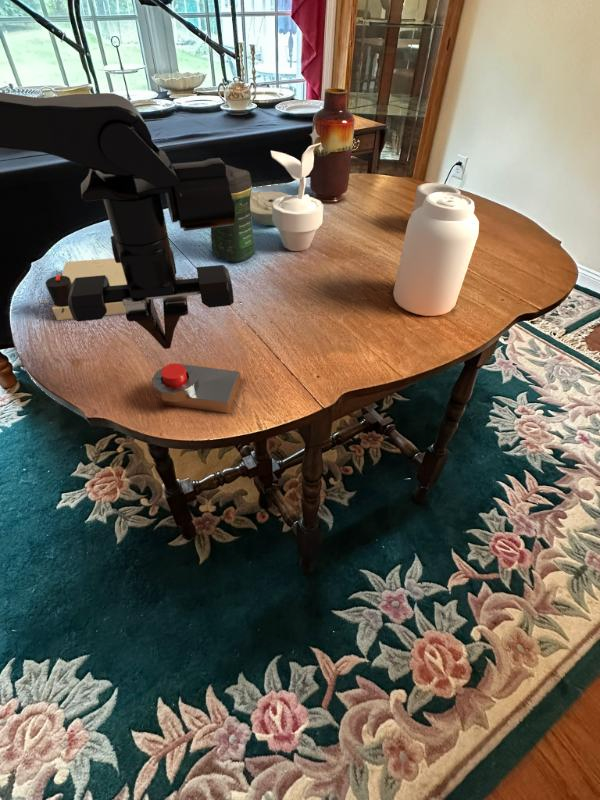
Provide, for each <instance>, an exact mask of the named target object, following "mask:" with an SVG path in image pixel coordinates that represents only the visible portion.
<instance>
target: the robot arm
mask: <svg viewBox="0 0 600 800" xmlns="http://www.w3.org/2000/svg"><path fill="white" fill-rule="evenodd" d="M0 149H10V150H16V151H17V150H18V151H26V152H36V153H44V154H47V155H51V156H55V157H59V158H60V159H63V160H66V161H68V162H71V163H73V164H75V165H78V166H80V167H82V168H85V169H89V172H88V174H87V176H86V177H85V179H84V180H83V181H82V182H81V183H80V193H81V199H82V200H83V201H85V202H90V201H91V202H92V201H101V200H102V201H103V204H104V207H105V210H106V214H107V217H108V221H109V225H110V228H111V231H112V235H111V236H110V243H111V249H112V254H113V258H114V259H115V262H116V263H121V264H122V268H123V271H124V275H125V279H126V282H127V285H116V286H110V284H109V281H108V278H107V277H106V276H105V275H102V276H90V277H79V278H75V280H74V281H73V283H72V285H71V289H70V293H69V298H68V305H69V309H70V312H71V314H72V317H73V319H72V320H73V321H76V322H88V321H96V320H103V318H104V317H105V316H106V315H105V314H106V313H107V309H106V306H105V303H115V302H123V305H124V306H125V308H126V313H125V319H126V321H128V322H135V323H137V324H138V325H139V326H140V327H141V328H143V329H144V330H145V331H146V332H148V333H149V334H150V335H151V336H152V337H153V339H154V340H155V341H156V342H157V343H158V344H159V345H160V346H161V347H162V349H164V350H167V349H171V347H172V342H173V338H174V334H175V330H176V327H177V325H178V323H179V321H180V319H181V317H185V316H187V315H188V314H189V307H188V305H189V304H188V297H190V296H199V295H200V298H201V299H200V300H201V303H202V304H203V305H204V306H206V307H207V308H211V309H212V308H219V307H229V306H232V305H233V304H234V303H235V300H234V299H235V298H234V290H233V284H232V283H233V282H232V279H231V276H230V272H229V269H228V268H227V267H226V266H225V265H224V264H219V265H218V264H216V265H207V266H196V274H197V277H194V278H183V276H177V267H176V263H175V262H176V260H175V256H174V251H173V250H172V248H171V243H170V238H169V234H168V233H169V232H168V227H167V223H166V218H165V213H164V212H165V211H164V207H163V202H162V197H161V194H165V200H166V206H167V209H168V210H167V211H168V214H169V216H170V217H169V218H170V221H171V222H172V224H173V223H178V225H179V228H180V229H182V230H183V231H184V232H188V231H198V230H205V229H211V228H213V227H221V226H229V225H234V222H235V204H234V200H233V198H232V195H231V190H230V185H229V181H228V178H227V175H226V166H225V165H226V164H225V162H224V161H223V160H222V159H221V158H220V157H215V158H214V157H213V158H208V159H205V160H202V161H191V162H189V161H188V162H177V163H171V161H170V160H169V157H168V155H167V154H166V152H165V151H164V150H162V149H160V147H158V145H157V144H156V143H155V142H154V141H153V139H152V134H151V132H150V130H149V128H148V126H147V124H146V122H145V120H144V118H143V116H142V114H141V113H140V111H139V110H138V109H137V107H136V106H135V105H134V104H133V103H132V102H131V101H130V100H129V99H127V98H126V97H124V96H122V95H119V94H117V93H111V92H110V93H109V92H100V93H97V92H96V93H72V94H66V95H57V96H50V97H49V96H47V97H45V96H44V97H33V96H28V95H27V96H26V95H21V94H14V93H7V92H1V91H0ZM134 176H135V177H137V178H135V177H134ZM158 299H162V306H163V307H162V308H163V309H162V310H163V312H162V313H163V325H164V326H163V325H162V323H161V320H160V317H159V314H158V312H157V309H156V305H155V303H154V300H158ZM104 315H105V316H104Z"/></svg>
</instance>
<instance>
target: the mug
mask: <svg viewBox="0 0 600 800" xmlns="http://www.w3.org/2000/svg"><path fill="white" fill-rule="evenodd" d="M435 192H452V193H457V194H461V190H460V189H458V188H457V187H455V186H453V185H450V184H446V183H440V182H426V183H422V184H420V185H418V186H417V187H416V190H415V198H414V203H413V207H412V211H411V214H412V213H413V211H415V210H416V209H418V208H419V207H421V206H422V205H423V202H424V199H425V198H426V196H427V195H429V194H431V193H435ZM461 195H462V194H461Z"/></svg>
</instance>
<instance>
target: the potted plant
mask: <svg viewBox="0 0 600 800" xmlns="http://www.w3.org/2000/svg"><path fill="white" fill-rule="evenodd" d="M308 135H309V136H310V137H311V140H312V139H313V145H312V144H311V145H309V146H308V147H307V148H306V150H305V151H303V153H302V155H301V160H299V159H297V158H296V157H294V156H292V155H289V154H287V153H284V152H281V151H275V150H270V155H271V158H272V159H273V160H275V161H276V162H277V163H279V164H280V165H281V166H282V167H284V168H285V170H286V172H287V173H289V175H290V176H291V178H292V179H293V180H295V181H299V185H298V191H297V194H294V195H291V194H290V195H291V196H284V197H280V198H277V199H276V200H275V201H274V202H273V203H272V221H273V224H274V225H273V226H274V227H276V228H277V230H278V233H279V237H280V240H281V243H282V245H283V248H285V249H287V250H289V251H293V252H303V251H306V250H307V249H309V248H310V247H311V245H312V242H313V241H314V238H315V234H316V232H317V229H319V228H320V227H321V225H322V224H323V216H324V203H322V202H321V201H319V200H317V199H315V198H313V196H310V195H309V194H308V193H307V194H305V191H306V184H307V180H306V177H307V176H310V174H311V170H312V168H313V163H314V153H313V151H314V148H315V146H317V145H320V144H321V143H318V144H314V142H315V139H316V138H317V137H320V136H319V135H317V133H316V129H315V127H314V131H313V133H312V132H311V133H310V134H308ZM322 149H324V148H322V146H321V145H320V147H319V150H320V152H321V150H322Z"/></svg>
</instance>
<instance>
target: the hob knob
mask: <svg viewBox="0 0 600 800" xmlns="http://www.w3.org/2000/svg"><path fill="white" fill-rule="evenodd" d="M71 285H72V283H71V280H70V278H69V277H67V276H62V273H57V274H56V275H55V276H51V277H49V278H47V280H46V281H45V286H46V289H47V291H48V293H49V296H50V298H51V300H52V302H53V305H54V304H55V305H56V306H59V307H65V306H69V305H68V298H69V293H70V289H71Z"/></svg>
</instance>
